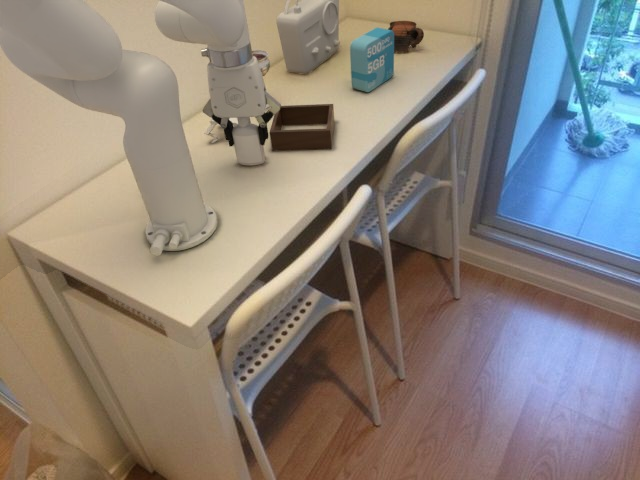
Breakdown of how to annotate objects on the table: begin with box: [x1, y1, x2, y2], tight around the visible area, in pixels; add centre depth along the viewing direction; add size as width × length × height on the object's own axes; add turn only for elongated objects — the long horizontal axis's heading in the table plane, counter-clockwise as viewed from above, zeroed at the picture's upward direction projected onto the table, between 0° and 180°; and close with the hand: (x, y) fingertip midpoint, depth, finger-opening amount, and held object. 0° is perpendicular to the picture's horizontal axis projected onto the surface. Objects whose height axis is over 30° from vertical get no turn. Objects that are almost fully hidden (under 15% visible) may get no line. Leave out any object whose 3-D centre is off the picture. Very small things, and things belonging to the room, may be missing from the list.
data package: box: [349, 27, 395, 93], centre depth 129 cm, size 12×4×12 cm, turn 140°
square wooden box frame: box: [269, 103, 335, 152], centre depth 114 cm, size 12×13×4 cm
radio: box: [276, 0, 341, 75], centre depth 138 cm, size 22×8×25 cm, turn 150°
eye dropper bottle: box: [232, 117, 266, 166], centre depth 105 cm, size 4×6×12 cm
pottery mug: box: [387, 20, 425, 53], centre depth 147 cm, size 12×10×8 cm
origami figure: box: [203, 118, 238, 143], centre depth 116 cm, size 12×8×5 cm
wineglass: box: [252, 49, 271, 109], centre depth 125 cm, size 7×7×12 cm
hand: (248, 141), depth 106 cm, fingers closed on eye dropper bottle, 5 cm apart
